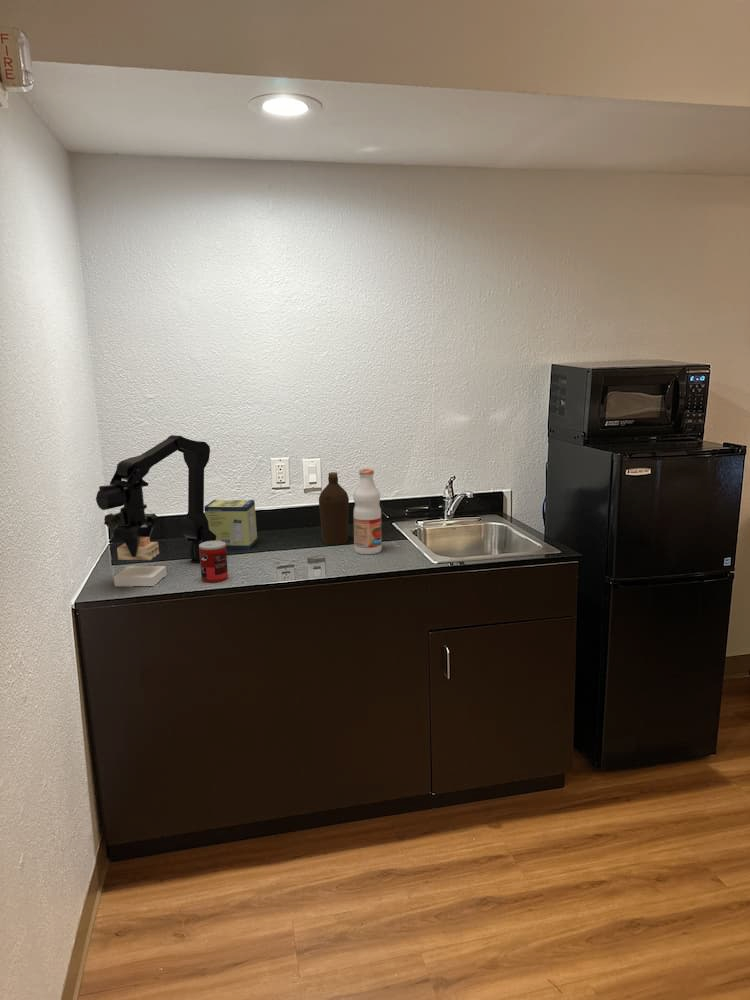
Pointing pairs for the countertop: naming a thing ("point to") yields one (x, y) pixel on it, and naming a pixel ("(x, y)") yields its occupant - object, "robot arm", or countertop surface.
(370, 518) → the fruit juice
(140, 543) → the block
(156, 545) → the pallet
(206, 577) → the canned food
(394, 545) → the countertop surface
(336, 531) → the olive oil
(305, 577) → the countertop surface
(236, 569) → the countertop surface
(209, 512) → the protein box
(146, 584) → the white flat block
